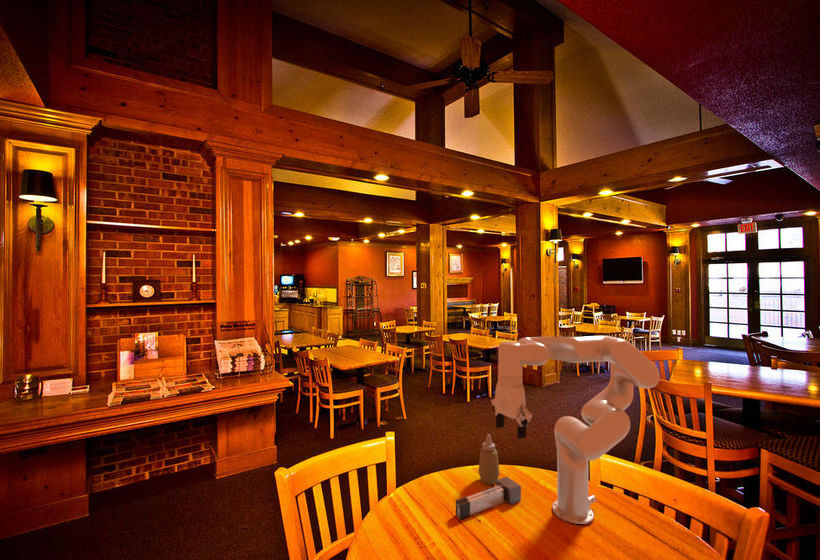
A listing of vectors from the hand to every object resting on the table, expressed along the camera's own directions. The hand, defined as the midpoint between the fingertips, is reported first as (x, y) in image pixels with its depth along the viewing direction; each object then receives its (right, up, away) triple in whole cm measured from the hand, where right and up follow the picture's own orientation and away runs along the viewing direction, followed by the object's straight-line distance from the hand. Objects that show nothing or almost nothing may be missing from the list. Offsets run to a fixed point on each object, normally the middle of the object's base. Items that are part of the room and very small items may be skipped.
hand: (510, 432), depth 121 cm
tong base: (-6, -28, +7) cm, 30 cm away
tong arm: (-9, -28, +4) cm, 30 cm away
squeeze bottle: (-2, -29, +23) cm, 37 cm away
